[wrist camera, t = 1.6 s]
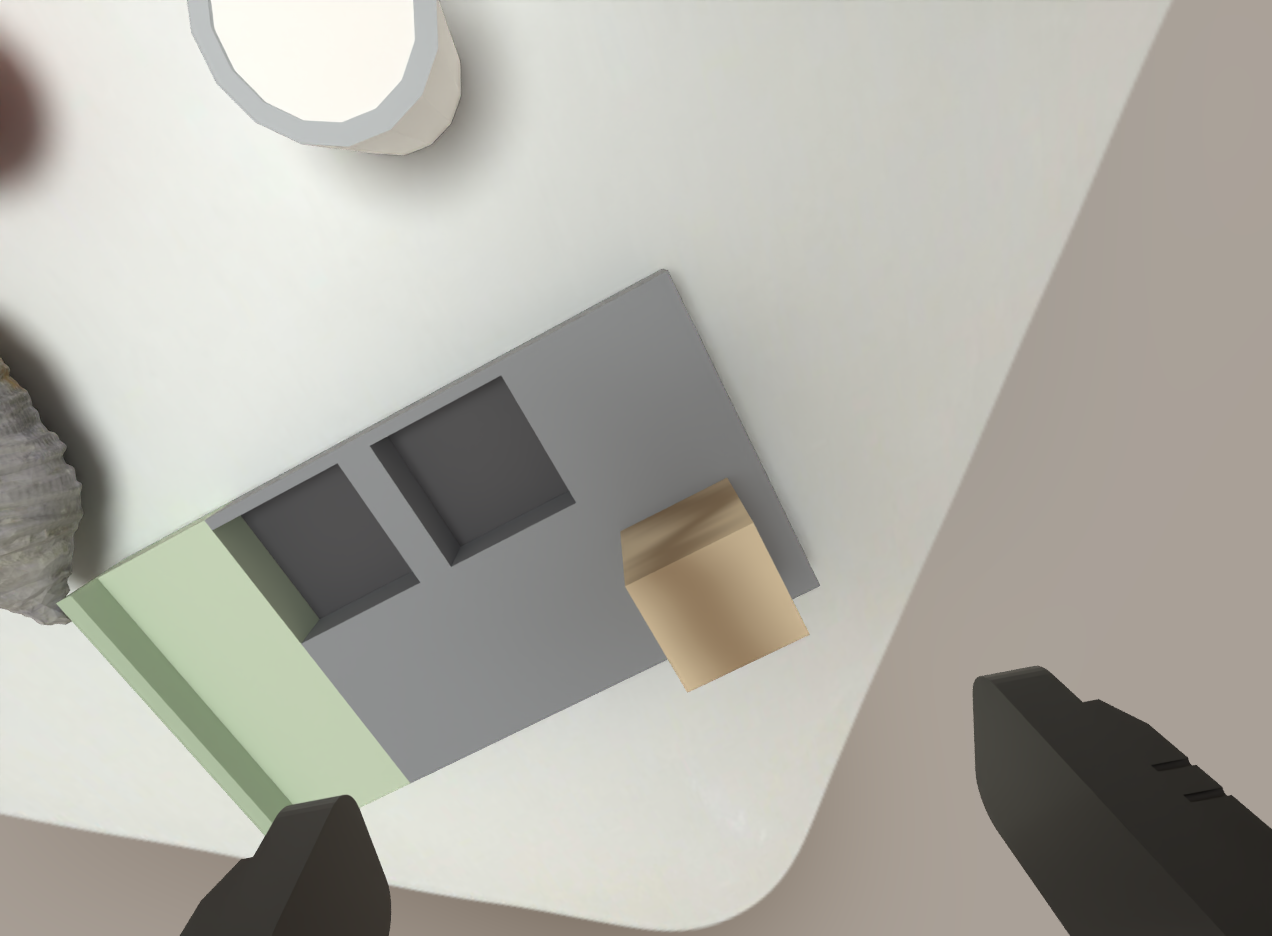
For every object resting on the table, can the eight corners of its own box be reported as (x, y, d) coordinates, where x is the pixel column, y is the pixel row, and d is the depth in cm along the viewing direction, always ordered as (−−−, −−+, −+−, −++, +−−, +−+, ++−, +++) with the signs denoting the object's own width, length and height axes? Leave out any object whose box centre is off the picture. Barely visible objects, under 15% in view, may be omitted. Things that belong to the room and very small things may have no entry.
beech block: (727, 477, 28) (753, 522, 24) (775, 573, 30) (809, 634, 25) (620, 531, 29) (624, 586, 24) (672, 623, 30) (687, 692, 26)
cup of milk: (418, 211, 27) (360, 197, 20) (256, 94, 26) (137, 38, 19) (514, 53, 26) (485, -17, 19) (349, -81, 24) (255, -208, 18)
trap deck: (661, 268, 28) (671, 271, 24) (803, 561, 33) (831, 602, 29) (123, 559, 31) (55, 603, 27) (322, 795, 35) (288, 862, 31)
